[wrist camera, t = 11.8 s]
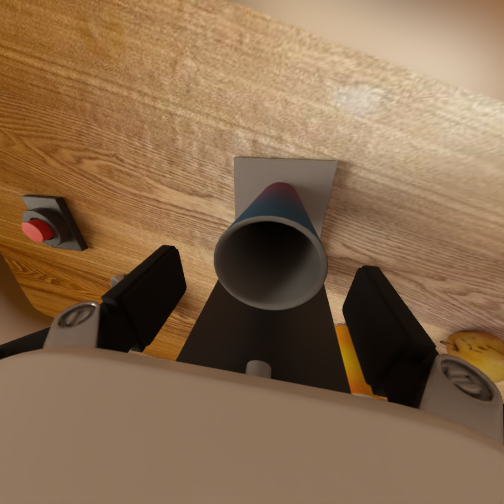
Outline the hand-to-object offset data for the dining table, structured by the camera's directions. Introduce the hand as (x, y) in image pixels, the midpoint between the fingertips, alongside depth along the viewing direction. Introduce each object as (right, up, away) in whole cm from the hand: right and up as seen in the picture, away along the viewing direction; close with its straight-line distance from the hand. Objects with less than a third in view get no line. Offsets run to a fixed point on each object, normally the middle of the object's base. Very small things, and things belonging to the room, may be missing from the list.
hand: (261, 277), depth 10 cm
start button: (-37, +5, +22) cm, 43 cm away
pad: (-36, +7, +24) cm, 44 cm away
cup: (+3, +8, +14) cm, 16 cm away
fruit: (+35, -13, +22) cm, 43 cm away
